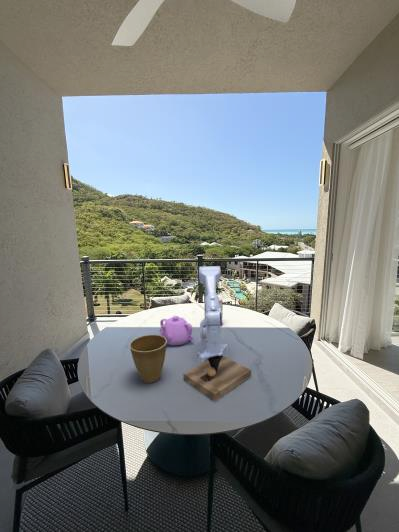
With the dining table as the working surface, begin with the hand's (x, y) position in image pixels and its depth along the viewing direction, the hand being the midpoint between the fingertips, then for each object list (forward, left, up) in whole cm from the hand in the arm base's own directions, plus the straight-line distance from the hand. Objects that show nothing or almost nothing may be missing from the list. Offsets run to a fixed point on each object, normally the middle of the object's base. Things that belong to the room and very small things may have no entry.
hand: (214, 371), depth 104 cm
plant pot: (-20, -18, -5) cm, 27 cm away
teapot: (-39, +9, -5) cm, 41 cm away
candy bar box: (-40, +41, -5) cm, 58 cm away
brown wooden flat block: (0, +2, -4) cm, 5 cm away
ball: (0, -1, 0) cm, 1 cm away
